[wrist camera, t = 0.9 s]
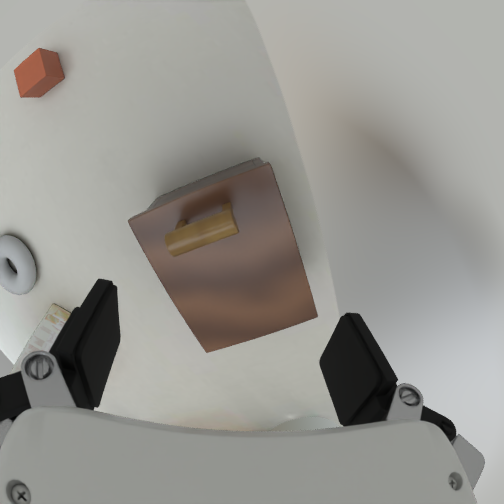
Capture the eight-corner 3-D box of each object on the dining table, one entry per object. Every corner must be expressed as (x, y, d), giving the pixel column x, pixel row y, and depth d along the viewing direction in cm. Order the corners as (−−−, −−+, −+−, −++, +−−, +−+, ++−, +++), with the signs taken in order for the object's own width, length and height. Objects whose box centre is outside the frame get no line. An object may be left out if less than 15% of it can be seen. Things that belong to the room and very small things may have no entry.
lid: (129, 218, 23) (108, 243, 18) (268, 161, 22) (281, 173, 17) (206, 348, 30) (205, 385, 26) (316, 312, 30) (331, 347, 25)
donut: (29, 227, 31) (-10, 234, 30) (16, 237, 28) (-21, 243, 27) (48, 287, 35) (9, 288, 34) (38, 299, 32) (0, 299, 31)
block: (32, 72, 21) (13, 70, 17) (57, 52, 21) (39, 47, 17) (40, 97, 23) (20, 97, 19) (65, 78, 23) (46, 75, 19)
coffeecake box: (80, 370, 44) (52, 452, 26) (50, 354, 41) (14, 432, 24) (89, 320, 38) (44, 420, 21) (52, 301, 36) (-3, 392, 19)
